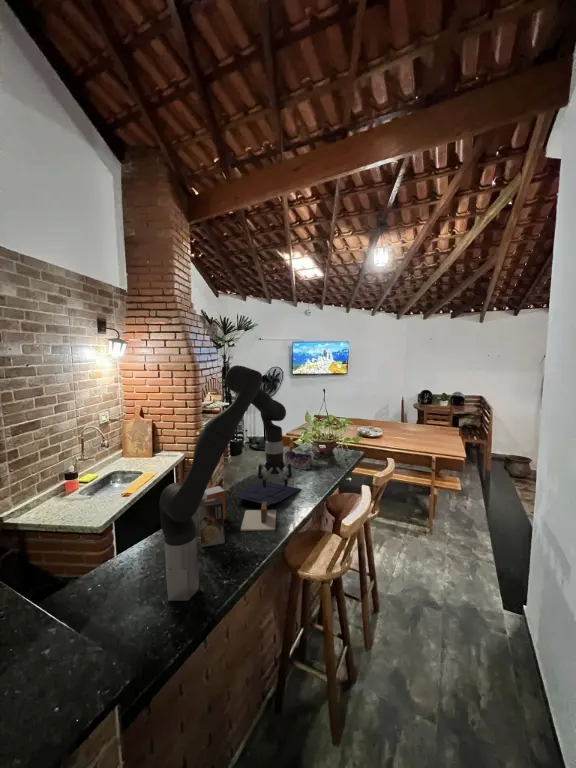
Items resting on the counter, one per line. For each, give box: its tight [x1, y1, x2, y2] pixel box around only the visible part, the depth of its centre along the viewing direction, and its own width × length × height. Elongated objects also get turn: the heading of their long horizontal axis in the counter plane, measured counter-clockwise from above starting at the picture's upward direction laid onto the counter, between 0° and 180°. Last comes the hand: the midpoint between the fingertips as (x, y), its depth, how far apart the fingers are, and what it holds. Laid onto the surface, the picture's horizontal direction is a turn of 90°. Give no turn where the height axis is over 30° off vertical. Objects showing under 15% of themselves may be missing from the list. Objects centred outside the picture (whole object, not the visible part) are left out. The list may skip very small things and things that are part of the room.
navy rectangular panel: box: [233, 480, 302, 506], centre depth 166 cm, size 24×30×4 cm
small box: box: [202, 485, 226, 520], centre depth 144 cm, size 8×6×13 cm
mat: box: [240, 509, 277, 532], centre depth 142 cm, size 16×14×1 cm
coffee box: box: [198, 497, 226, 548], centre depth 126 cm, size 9×6×16 cm
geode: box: [283, 449, 313, 471], centre depth 207 cm, size 20×12×10 cm, turn 59°
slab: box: [260, 502, 268, 523], centre depth 142 cm, size 2×6×7 cm
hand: (275, 487), depth 141 cm, fingers open, 8 cm apart
